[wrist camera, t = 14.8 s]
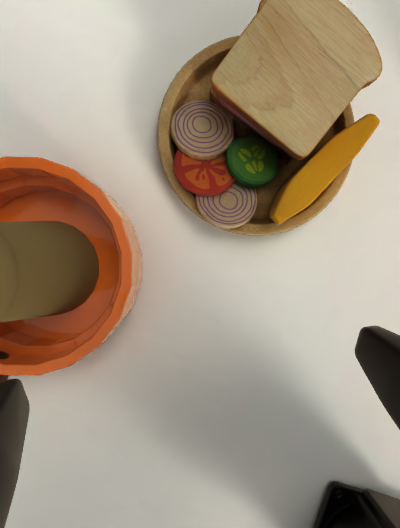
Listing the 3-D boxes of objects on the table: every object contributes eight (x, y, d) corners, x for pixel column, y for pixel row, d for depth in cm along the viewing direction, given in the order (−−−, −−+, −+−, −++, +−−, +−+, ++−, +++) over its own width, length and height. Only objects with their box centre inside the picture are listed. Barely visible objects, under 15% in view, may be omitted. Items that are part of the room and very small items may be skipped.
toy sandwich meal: (119, 139, 20) (97, 104, 16) (265, -4, 21) (288, -82, 16) (252, 275, 21) (270, 280, 16) (394, 134, 21) (454, 98, 16)
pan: (109, 375, 21) (90, 404, 17) (-60, 320, 20) (-122, 335, 16) (166, 210, 21) (161, 199, 17) (-4, 151, 20) (-51, 125, 16)
